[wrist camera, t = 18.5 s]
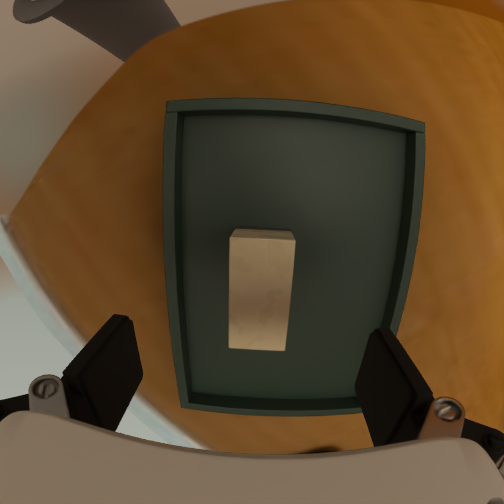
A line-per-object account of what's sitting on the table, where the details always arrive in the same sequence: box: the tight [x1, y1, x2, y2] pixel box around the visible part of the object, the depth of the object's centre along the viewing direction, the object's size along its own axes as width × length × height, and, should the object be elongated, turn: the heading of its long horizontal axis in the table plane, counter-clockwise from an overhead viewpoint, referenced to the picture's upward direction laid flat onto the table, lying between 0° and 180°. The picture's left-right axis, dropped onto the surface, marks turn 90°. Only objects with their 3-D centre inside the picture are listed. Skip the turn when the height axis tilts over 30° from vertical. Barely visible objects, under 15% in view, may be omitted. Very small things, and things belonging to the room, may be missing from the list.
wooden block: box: [229, 226, 296, 351], centre depth 18 cm, size 7×4×4 cm, turn 178°
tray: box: [163, 98, 425, 416], centre depth 19 cm, size 24×17×2 cm
